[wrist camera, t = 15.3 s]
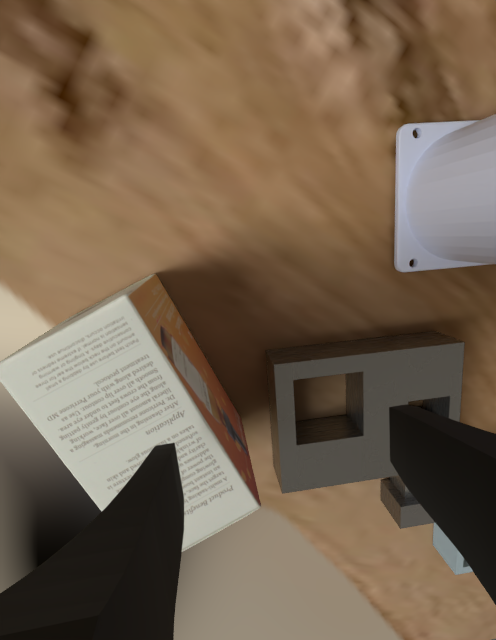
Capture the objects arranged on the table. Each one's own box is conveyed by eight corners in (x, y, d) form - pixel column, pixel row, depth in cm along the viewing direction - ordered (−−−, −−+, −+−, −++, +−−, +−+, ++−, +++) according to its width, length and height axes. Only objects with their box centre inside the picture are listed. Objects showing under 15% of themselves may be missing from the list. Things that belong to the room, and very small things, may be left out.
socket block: (436, 331, 23) (464, 342, 21) (431, 443, 25) (456, 466, 23) (265, 350, 22) (273, 364, 20) (273, 466, 24) (282, 493, 21)
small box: (154, 269, 20) (242, 417, 23) (64, 318, 20) (164, 460, 23) (129, 291, 12) (266, 510, 15) (-17, 371, 12) (148, 575, 15)
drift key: (427, 405, 24) (453, 424, 22) (423, 492, 26) (447, 520, 23) (381, 411, 24) (402, 431, 21) (380, 499, 26) (400, 528, 23)
